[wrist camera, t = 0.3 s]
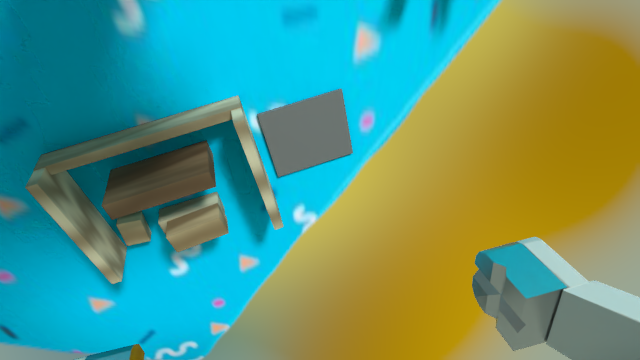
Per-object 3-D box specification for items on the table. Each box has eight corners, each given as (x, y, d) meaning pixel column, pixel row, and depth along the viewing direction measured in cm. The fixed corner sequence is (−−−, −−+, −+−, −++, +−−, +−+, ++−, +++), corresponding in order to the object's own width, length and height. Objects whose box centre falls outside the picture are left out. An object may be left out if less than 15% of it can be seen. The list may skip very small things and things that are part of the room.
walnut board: (111, 169, 48) (101, 205, 43) (206, 139, 49) (208, 171, 44) (120, 182, 50) (112, 219, 44) (212, 153, 51) (215, 186, 45)
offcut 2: (159, 208, 54) (158, 222, 51) (216, 190, 54) (218, 204, 52) (168, 223, 56) (167, 238, 53) (224, 206, 56) (225, 220, 54)
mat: (257, 114, 49) (257, 115, 49) (340, 88, 50) (341, 89, 49) (277, 175, 55) (278, 176, 55) (351, 151, 56) (352, 152, 56)
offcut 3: (167, 221, 52) (166, 237, 49) (217, 202, 52) (219, 217, 50) (177, 236, 53) (177, 252, 51) (226, 217, 54) (228, 233, 51)
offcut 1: (118, 214, 53) (116, 224, 51) (141, 209, 53) (140, 219, 52) (129, 235, 55) (127, 245, 54) (151, 230, 56) (150, 240, 54)
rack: (41, 154, 45) (24, 186, 40) (238, 95, 47) (243, 119, 42) (118, 250, 56) (112, 284, 51) (275, 199, 58) (283, 226, 53)
